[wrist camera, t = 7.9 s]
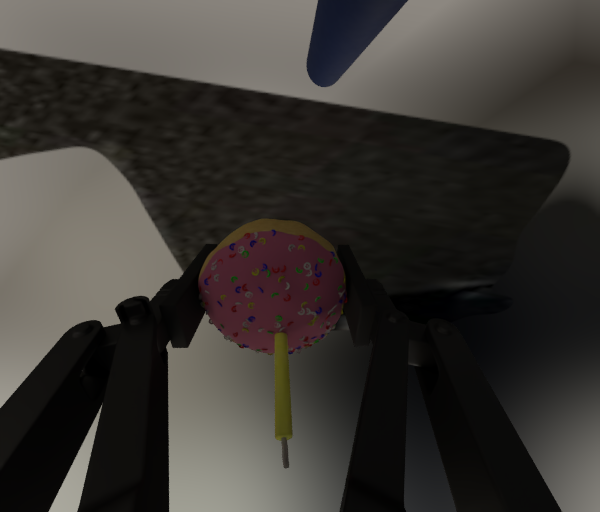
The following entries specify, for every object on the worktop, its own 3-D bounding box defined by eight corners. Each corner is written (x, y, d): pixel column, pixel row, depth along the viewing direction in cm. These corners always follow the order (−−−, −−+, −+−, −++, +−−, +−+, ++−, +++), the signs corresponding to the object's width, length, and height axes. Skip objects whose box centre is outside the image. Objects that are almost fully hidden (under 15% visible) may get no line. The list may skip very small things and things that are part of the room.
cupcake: (349, 279, 19) (420, 467, 8) (256, 313, 20) (217, 511, 10) (308, 179, 15) (345, 290, 5) (197, 229, 17) (31, 403, 6)
